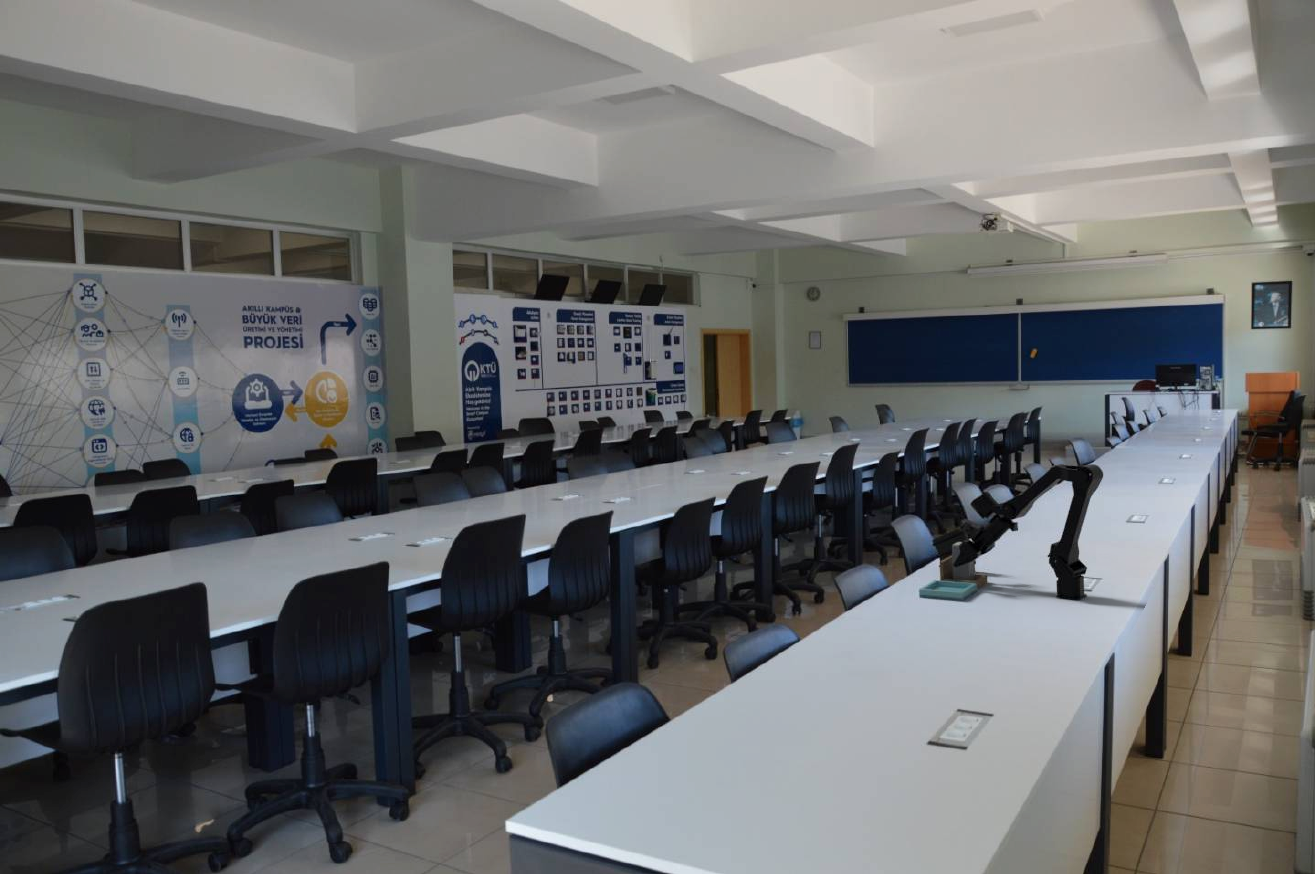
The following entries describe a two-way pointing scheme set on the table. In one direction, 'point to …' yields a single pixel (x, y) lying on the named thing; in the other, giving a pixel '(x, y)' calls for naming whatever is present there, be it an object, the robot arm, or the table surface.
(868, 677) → the table surface
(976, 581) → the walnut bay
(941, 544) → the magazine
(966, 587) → the teal tray
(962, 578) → the grey lidded box
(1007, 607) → the table surface
